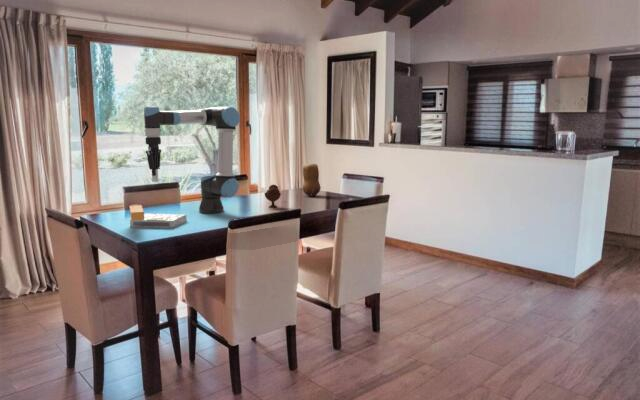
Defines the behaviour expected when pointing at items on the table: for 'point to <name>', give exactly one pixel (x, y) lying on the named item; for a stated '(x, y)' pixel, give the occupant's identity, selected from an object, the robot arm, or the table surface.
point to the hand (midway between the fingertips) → (155, 181)
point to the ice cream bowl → (273, 195)
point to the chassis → (159, 221)
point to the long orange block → (136, 212)
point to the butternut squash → (311, 179)
